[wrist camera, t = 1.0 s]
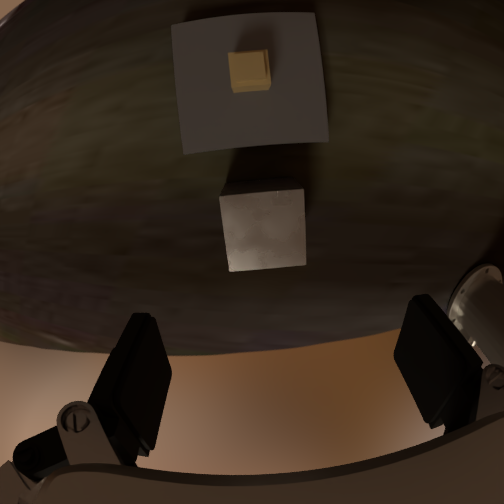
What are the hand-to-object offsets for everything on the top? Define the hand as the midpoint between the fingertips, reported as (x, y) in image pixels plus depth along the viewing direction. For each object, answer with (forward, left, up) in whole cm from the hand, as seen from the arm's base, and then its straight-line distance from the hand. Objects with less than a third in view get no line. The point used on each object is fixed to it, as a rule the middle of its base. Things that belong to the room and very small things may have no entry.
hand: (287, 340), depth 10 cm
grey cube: (-1, 0, -21) cm, 21 cm away
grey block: (+12, 0, -21) cm, 24 cm away
